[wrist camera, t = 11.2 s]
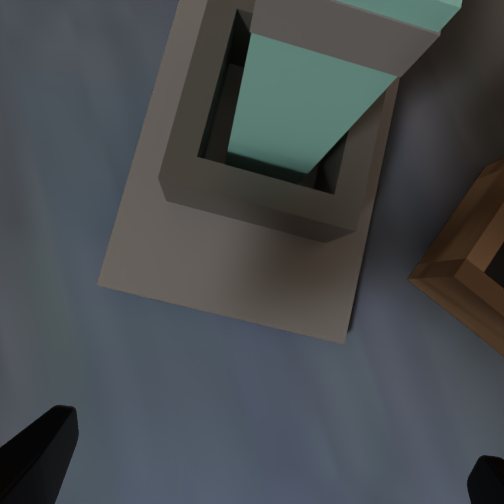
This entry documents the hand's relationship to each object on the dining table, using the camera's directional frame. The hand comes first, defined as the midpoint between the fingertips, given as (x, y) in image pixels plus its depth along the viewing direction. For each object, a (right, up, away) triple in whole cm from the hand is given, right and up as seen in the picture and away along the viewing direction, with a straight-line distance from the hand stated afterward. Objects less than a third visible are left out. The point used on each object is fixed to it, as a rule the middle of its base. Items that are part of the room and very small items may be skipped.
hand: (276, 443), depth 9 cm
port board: (0, +10, +12) cm, 16 cm away
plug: (0, +10, +11) cm, 15 cm away
